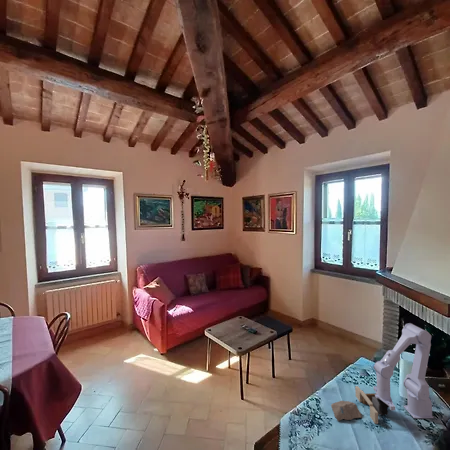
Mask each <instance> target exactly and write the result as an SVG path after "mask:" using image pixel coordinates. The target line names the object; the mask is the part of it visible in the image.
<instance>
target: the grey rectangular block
mask: <svg viewBox="0 0 450 450" xmlns="http://www.w3.org/2000/svg"><path fill="white" fill-rule="evenodd" d="M372 403H373V407H374V408H375V409H376V411H377V412H378V416H384V415H383V414H382V413H381V410H380V405H379V402H378V400H377V398H376V397H372ZM388 414H389V413H388ZM388 414H387V415H386V416H388Z"/></svg>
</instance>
